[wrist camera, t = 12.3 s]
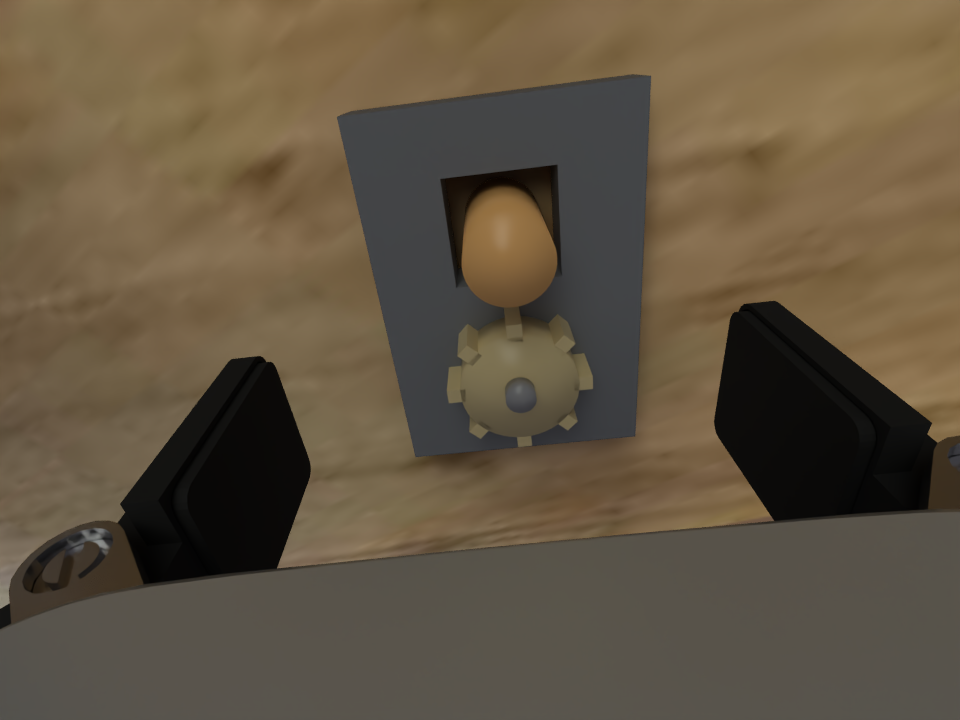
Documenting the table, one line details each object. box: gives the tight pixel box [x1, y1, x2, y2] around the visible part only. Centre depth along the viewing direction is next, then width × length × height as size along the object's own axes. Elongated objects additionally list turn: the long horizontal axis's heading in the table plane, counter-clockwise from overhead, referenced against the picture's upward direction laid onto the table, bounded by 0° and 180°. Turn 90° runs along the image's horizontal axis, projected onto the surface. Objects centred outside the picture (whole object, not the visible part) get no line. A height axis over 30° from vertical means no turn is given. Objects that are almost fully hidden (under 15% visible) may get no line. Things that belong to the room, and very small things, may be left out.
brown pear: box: [462, 177, 557, 308], centre depth 25 cm, size 4×4×8 cm
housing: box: [337, 74, 651, 457], centre depth 28 cm, size 20×14×6 cm
